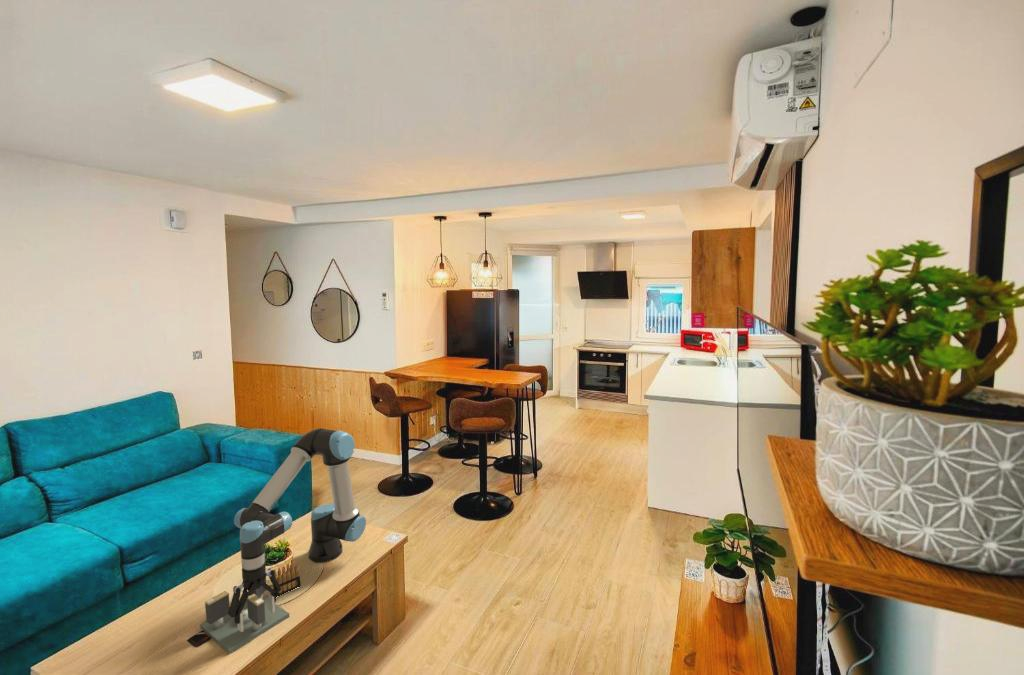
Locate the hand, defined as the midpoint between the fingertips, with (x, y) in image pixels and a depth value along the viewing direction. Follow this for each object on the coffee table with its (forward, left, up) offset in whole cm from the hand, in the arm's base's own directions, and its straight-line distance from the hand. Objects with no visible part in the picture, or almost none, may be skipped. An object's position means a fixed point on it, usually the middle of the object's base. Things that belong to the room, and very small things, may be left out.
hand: (256, 620), depth 171 cm
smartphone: (+9, -14, -5) cm, 17 cm away
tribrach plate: (0, -9, -4) cm, 10 cm away
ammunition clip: (-19, -13, -5) cm, 23 cm away
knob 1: (+7, -13, -3) cm, 15 cm away
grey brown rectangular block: (-7, -13, -3) cm, 15 cm away
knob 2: (0, 0, -3) cm, 3 cm away
